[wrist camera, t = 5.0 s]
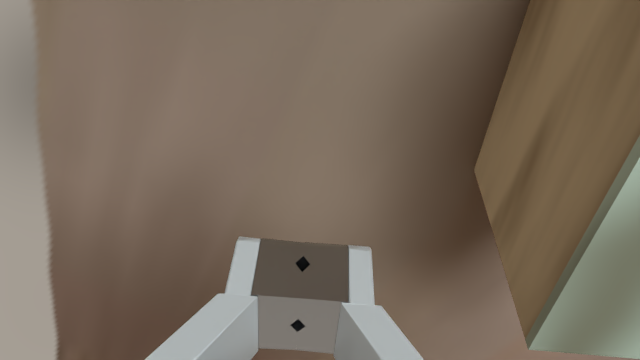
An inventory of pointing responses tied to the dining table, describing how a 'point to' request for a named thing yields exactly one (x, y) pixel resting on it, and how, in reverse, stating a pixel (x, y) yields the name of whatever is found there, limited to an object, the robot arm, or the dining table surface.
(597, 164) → the oak block
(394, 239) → the dining table surface
